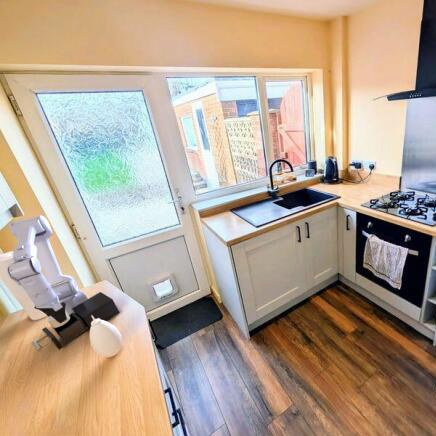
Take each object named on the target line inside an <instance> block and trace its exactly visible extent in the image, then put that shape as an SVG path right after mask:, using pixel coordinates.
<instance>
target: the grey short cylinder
mask: <svg viewBox="0 0 436 436" xmlns="http://www.w3.org/2000/svg"><path fill="white" fill-rule="evenodd" d="M65 313H66V317H67V320H65V321H64V322H62V323H59V322H57V321H56V320H55V319H54V318H53V317H51V316H49V317H48V316H47V322H48V324H49V325H50V327H51V328H52V329H53V328H56V327H59V326H62V325H64V324H65V323H66V322H68V321H69V319H70V316H69V315H68V313H67V312H66V310H65Z"/></svg>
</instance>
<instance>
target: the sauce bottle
mask: <svg viewBox="0 0 436 436" xmlns="http://www.w3.org/2000/svg"><path fill="white" fill-rule="evenodd" d="M92 318H93V321H92V322H91V328H90V330H89V343H90V345H91V348H92V349H93V351H94V352H95V353H96V354H97V355H98V356H100V357H103V358H111V357H114V356H115V355H117V354H118V353H119V352H120V351H121V349H122V347H123V338H122V337H123V336H122V335H121V332H120V331H119V329H118V328H117V327H116V326H115V325H114V324H112V323H111V322H109V321H104V320H100V319H95V318H94V317H93V316H92Z"/></svg>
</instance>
